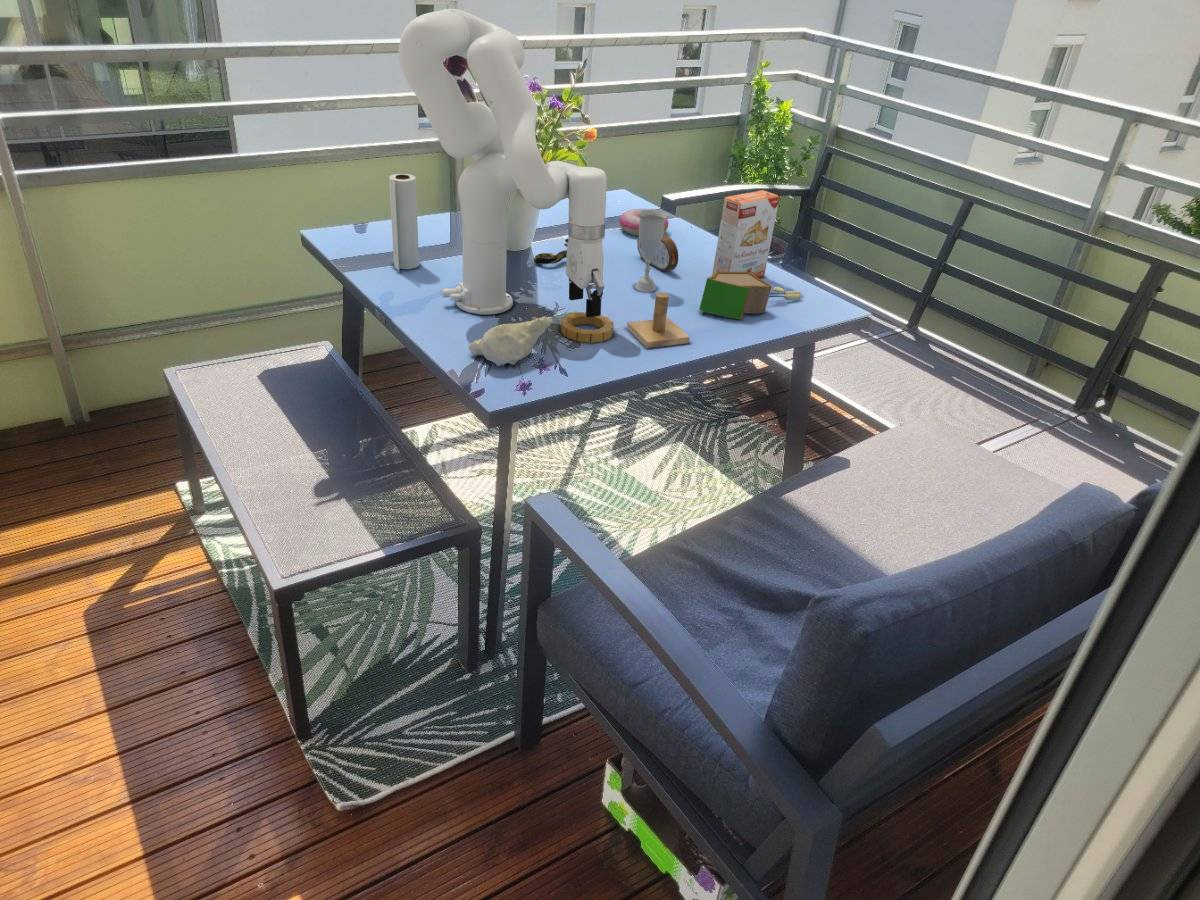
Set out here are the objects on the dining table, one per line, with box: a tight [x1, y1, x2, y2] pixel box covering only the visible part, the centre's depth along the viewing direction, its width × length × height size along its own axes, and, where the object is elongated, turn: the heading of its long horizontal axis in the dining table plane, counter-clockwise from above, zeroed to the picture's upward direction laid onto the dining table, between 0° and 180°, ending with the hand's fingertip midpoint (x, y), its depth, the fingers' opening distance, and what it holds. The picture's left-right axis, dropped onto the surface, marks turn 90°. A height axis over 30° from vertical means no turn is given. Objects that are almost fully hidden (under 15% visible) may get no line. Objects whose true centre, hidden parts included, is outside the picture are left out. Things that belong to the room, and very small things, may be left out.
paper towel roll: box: [388, 173, 420, 272], centre depth 212 cm, size 7×6×21 cm
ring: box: [560, 311, 615, 344], centre depth 194 cm, size 11×11×2 cm
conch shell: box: [468, 316, 554, 367], centre depth 179 cm, size 15×7×15 cm
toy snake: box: [533, 238, 568, 265], centre depth 229 cm, size 18×5×10 cm
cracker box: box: [711, 189, 781, 279], centre depth 221 cm, size 14×6×21 cm, turn 129°
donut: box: [619, 208, 669, 237], centre depth 251 cm, size 14×13×5 cm
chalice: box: [634, 208, 669, 293], centre depth 213 cm, size 7×7×18 cm
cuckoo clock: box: [699, 270, 802, 321], centre depth 212 cm, size 12×8×30 cm
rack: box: [626, 291, 691, 349], centre depth 193 cm, size 10×10×10 cm
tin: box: [636, 234, 679, 272], centre depth 228 cm, size 15×3×8 cm, turn 32°
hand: (584, 307), depth 196 cm, fingers open, 9 cm apart
